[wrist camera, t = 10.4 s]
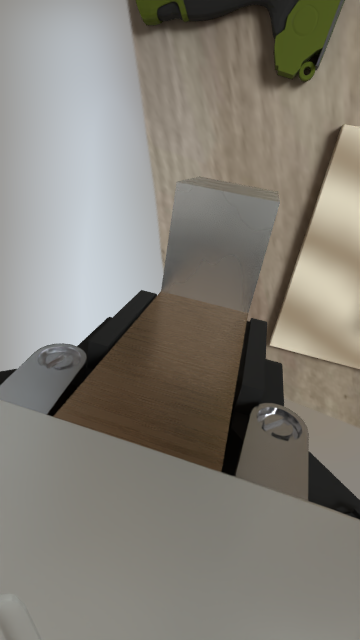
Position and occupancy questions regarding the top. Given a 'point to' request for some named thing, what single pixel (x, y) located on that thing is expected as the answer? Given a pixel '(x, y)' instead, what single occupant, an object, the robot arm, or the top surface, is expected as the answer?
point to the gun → (286, 17)
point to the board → (328, 267)
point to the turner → (186, 330)
